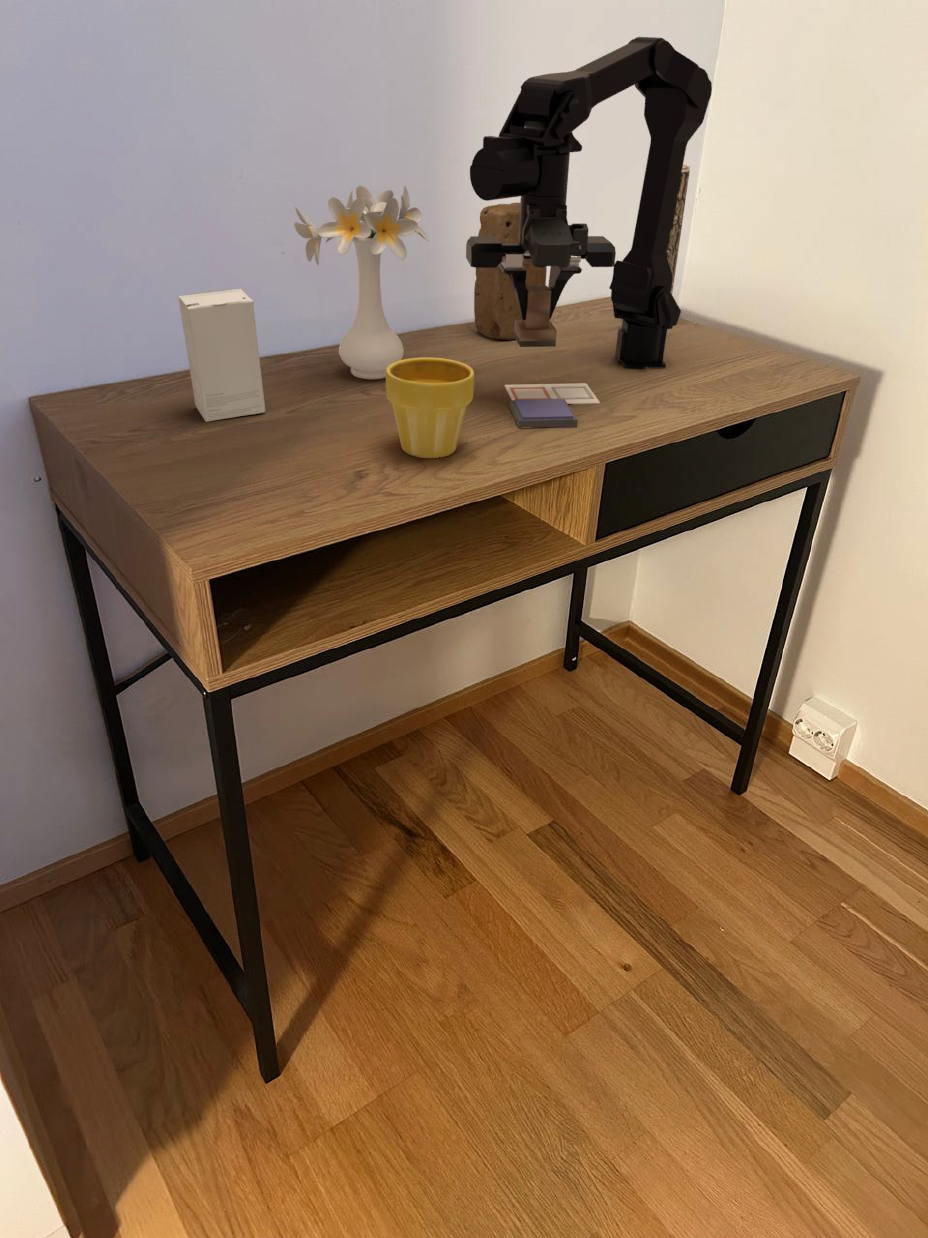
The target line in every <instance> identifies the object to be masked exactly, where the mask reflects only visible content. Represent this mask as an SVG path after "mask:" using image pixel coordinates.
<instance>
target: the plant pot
mask: <svg viewBox="0 0 928 1238" xmlns="http://www.w3.org/2000/svg"><path fill="white" fill-rule="evenodd" d="M474 388H475V371H474V369H473V368H472V367H471V366H470V365H467V364H466V363H464V362H461V361H458V360H454V359H448V358H442V357H412V358H404V359H401V360H400V361H397V362H394V363H392V364H390V365H389V366H388V367H387V369H386V378H385V395H386V398H387V400H388V401H389V403H391V405H392V408H393V409H392V410H393V413H394V418H395V422H396V427H397V432H398V437H399V441H400V445H401V448H402V451H404V452H405V453H406V454H408V455H410V456H413V457H416V458H421V459H440V458H444V457H448V456H450V455H452V454H453V453H455V451H456V450H457V446H458V442H459V437H460V433H461V429H462V425H463V421H464V418H465V413H466V409H467V406H468V405H469V404H470V403H472V401H473V398H474ZM439 457H440V458H439Z"/></svg>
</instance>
